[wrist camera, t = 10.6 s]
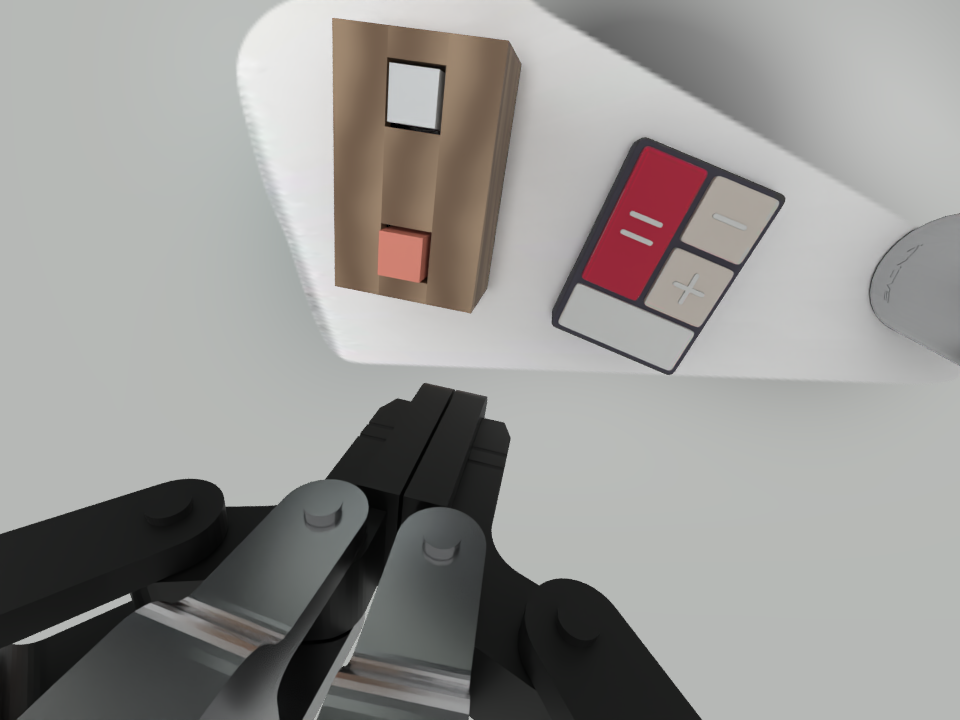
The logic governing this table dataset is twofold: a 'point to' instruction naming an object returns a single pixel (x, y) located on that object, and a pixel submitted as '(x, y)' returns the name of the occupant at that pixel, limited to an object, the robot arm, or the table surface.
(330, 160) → the table surface
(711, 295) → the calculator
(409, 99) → the grey plug
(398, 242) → the red plug
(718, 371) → the table surface
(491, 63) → the block
